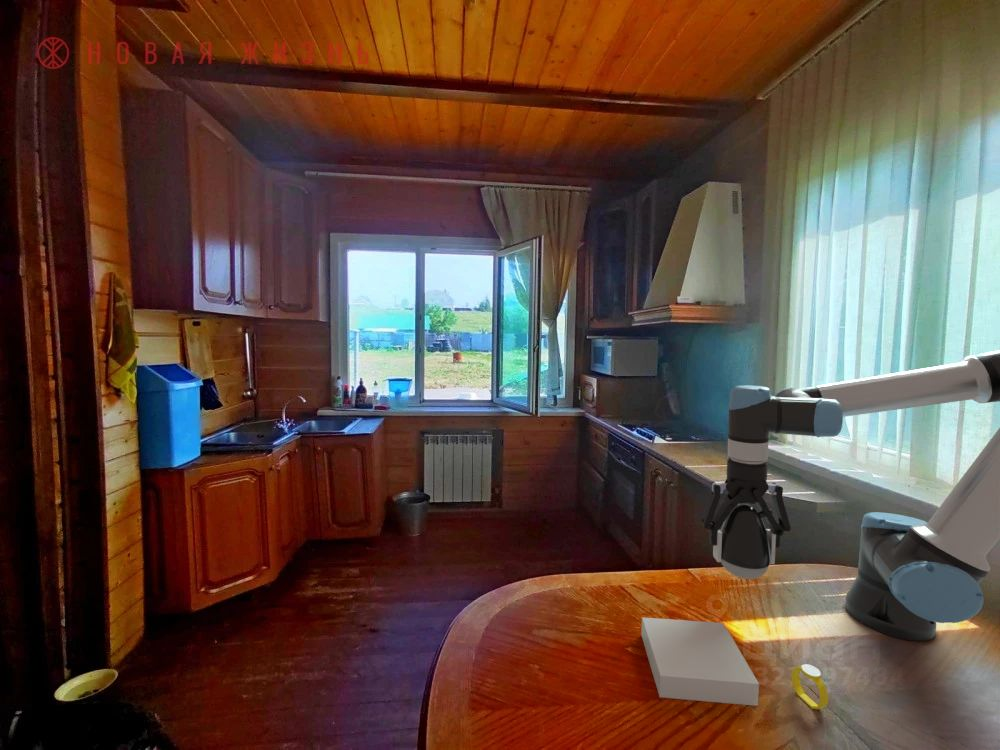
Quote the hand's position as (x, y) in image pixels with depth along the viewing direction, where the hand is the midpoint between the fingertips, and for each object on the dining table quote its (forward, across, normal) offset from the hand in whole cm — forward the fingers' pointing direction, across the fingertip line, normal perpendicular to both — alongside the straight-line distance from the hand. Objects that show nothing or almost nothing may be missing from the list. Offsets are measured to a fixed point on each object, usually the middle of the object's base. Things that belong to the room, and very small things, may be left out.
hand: (743, 560), depth 99 cm
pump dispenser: (+3, 0, 0) cm, 3 cm away
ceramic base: (+13, +15, +16) cm, 25 cm away
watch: (+14, -2, +22) cm, 26 cm away
